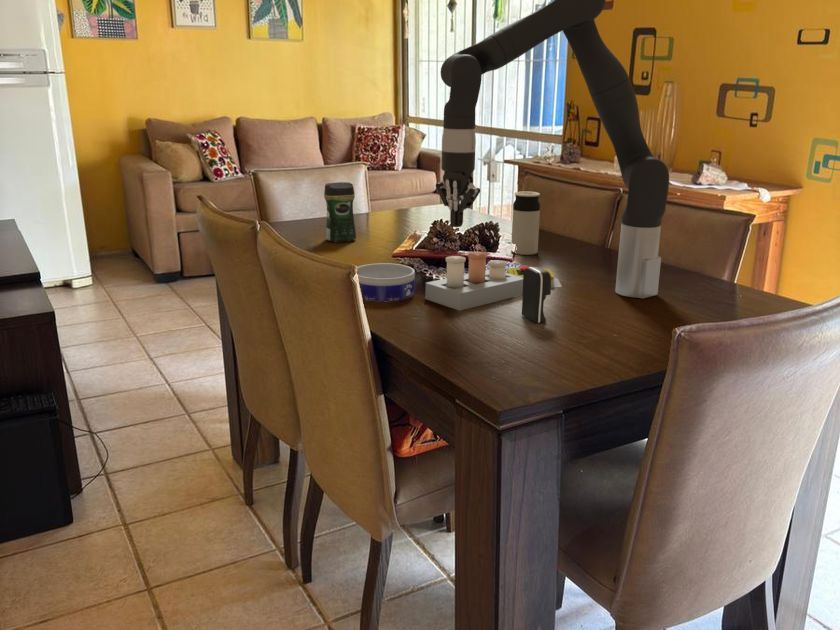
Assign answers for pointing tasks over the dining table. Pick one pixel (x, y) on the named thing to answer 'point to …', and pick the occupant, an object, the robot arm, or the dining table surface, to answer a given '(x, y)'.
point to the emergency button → (520, 271)
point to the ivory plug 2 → (497, 269)
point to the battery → (535, 293)
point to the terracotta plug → (477, 267)
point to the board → (474, 291)
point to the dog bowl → (386, 282)
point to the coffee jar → (340, 211)
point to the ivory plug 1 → (455, 271)
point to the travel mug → (526, 222)
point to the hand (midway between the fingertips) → (456, 226)
